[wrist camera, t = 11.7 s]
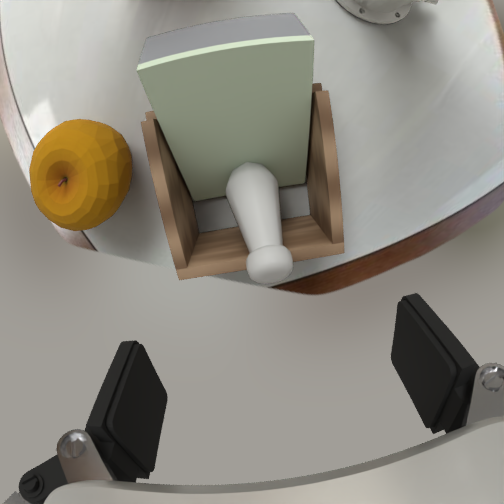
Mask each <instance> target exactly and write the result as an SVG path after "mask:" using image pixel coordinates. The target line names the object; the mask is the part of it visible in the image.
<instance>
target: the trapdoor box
mask: <svg viewBox="0 0 504 504" xmlns="http://www.w3.org/2000/svg"><path fill="white" fill-rule="evenodd" d="M145 114H146V119H147V121H143V122H141V126H142V131H143V136H144V141H145V146H146V151H147V156H148V160H149V165H150V169H151V174H152V178H153V183H154V187H155V191H156V196H157V200H158V204H159V208H160V212H161V216H162V220H163V224H164V228H165V231H166V235H167V239H168V243H169V246H170V250H171V254H172V257H173V261H174V264H175V268H176V271H177V275H178V278H179V280H184V279H190V278H197V277H203V276H210V275H216V274H222V273H228V272H235V271H241V270H247V267H246V259H247V257H248V255H249V250H248V248H247V245H246V243H245V241H244V238H243V236H242V233H241V231H240V229H239V226H238V227H232V228H226V229H221V230H215V231H209V232H203V233H199V230H198V225H197V221H196V216H195V212H194V207H193V203H192V198H191V194H190V191H189V189H188V187H187V185H186V182H185V180H184V178H183V176H182V174H181V171H180V169H179V167H178V165H177V163H176V160H175V158H174V156H173V154H172V151H171V149H170V147H169V145H168V142H167V140H166V138H165V136H164V133H163V131H162V129H161V127H160V124H159V122H158V120H157V117H156V115H155V113H154V111H150V112H146V113H145ZM306 180H307V188H308V197H309V206H310V215H307V216H300V217H294V218H287V219H281V225H282V239H283V246H285V247H286V248H287V249H288V250H289V251H290V252H291V255H292V259H293V262H296V261H302V260H307V259H313V258H319V257H325V256H331V255H336V254H342V253H344V235H343V218H342V203H341V191H340V179H339V169H338V159H337V150H336V142H335V134H334V126H333V119H332V112H331V105H330V98H329V92H328V91H322V86H321V83H315V84H312V98H311V113H310V127H309V140H308V153H307V164H306Z"/></svg>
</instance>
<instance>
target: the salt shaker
mask: <svg viewBox="0 0 504 504" xmlns="http://www.w3.org/2000/svg"><path fill="white" fill-rule="evenodd" d="M226 196H227V199H228V202H229V205H230V207H231V209H232V212H233V214H234V217H235V219H236V221H237V224H238V226H239V229H240V231H241V233H242V236H243V238H244V241H245V243H246V245H247V248H248V250H249V255H248V257H247V259H246V267H247V271H248V274H249V277H250V279H252V280H253V281H255V282H257V283H261V284H270V283H275V282H279V281H282V280H283V279H285V278H287V277H288V276H289V275H290V273H291V272H292V271H293V259H292V255H291V252H290V251H289V250H288V249H287V248H286V247H285V246H283V239H282V225H281V212H280V200H279V188H278V181H277V179H276V177H275V176H274V175H273V174H272V173H271V172H270V171H269V170H268V169H267V168H266V167H265V166H264V165H262V164H259V163H251V162H245V163H244V164H242V165H240V166H239V167H237V168H235V169H234V170H233V171H232V173H231V176H230V178H229V181H228V184H227V187H226Z"/></svg>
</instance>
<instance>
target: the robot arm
mask: <svg viewBox="0 0 504 504" xmlns="http://www.w3.org/2000/svg"><path fill="white" fill-rule="evenodd" d="M337 1H338V2H339V3H340V5H341V6H343V7H344V8H345V9H346V10H347V11H349V12H350V13H352V14H353V15H355V16H357V17H359V18H361V19H363V20H365V21H368V22H371V23H377V24H391V23H395V22H397V21H399V20H401V19H403V18H404V17H405V16H406V15H407V14H408V13H409V11H410V8H411V3H412V2H414V1H415V2H419V1H420V0H337ZM421 1H424V2H428V3H432V4H437V2H438V0H421ZM360 12H361V13H360ZM391 360H392V364H393V366H394V367H395V369H396V371H397V373H398V375H399V376H400V378H401V380H402V382H403V384H404V386H405V388H406V390H407V392H408V394H409V395H410V397H411V399H412V401H413V403H414V405H415V407H416V409H417V411H418V413H419V415H420V417H421V419H422V421H423V423H424V425H425V427H426V428H430V429H431V431H432V433H433V434H435V433H437V432H439V431H441V430H445V432H446V434H445V435H443V436H440V437H438V438H435V439H433V440H430V441H427V442H425V443H422V444H420V445H417V446H414V447H411V448H408V449H406V450H403V451H400V452H397V453H394V454H391V455H388V456H385V457H382V458H379V459H375V460H372V461H368V462H365V463H361V464H357V465H353V466H349V467H345V468H341V469H337V470H332V471H328V472H323V473H318V474H313V475H307V476H302V477H295V478H289V479H282V480H274V481H266V482H256V483H245V484H229V485H164V484H163V485H162V484H146V483H136V478H144V479H149V475H150V472H153V470H154V468H155V462H156V456H157V450H158V445H159V439H160V434H161V429H162V424H163V419H164V414H165V409H166V404H167V393H166V390H165V388H164V387H163V385H162V383H161V381H160V379H159V377H158V375H157V373H156V371H155V369H154V367H153V365H152V363H151V361H150V359H149V356H148V354H147V352H146V350H145V348H144V346H143V345H142V344H139V343H138V342H137V341H123V342H121V344H120V346H119V348H118V350H117V352H116V355H115V357H114V359H113V362H112V364H111V366H110V368H109V370H108V373H107V375H106V378H105V380H104V382H103V384H102V387H101V389H100V392H99V394H98V396H97V399H96V401H95V404H94V406H93V409H92V411H91V414H90V416H89V419H88V422H87V424H86V428H85V431H84V430H80V429H75V430H71V431H68V432H67V433H65V434H64V435H63V436H62V437H61V438H60V439H59V441H58V443H57V455H56V456H54V457H52V458H51V459H49V460H47V461H46V462H44V463H42V464H40V465H39V466H37V467H35V468H33V469H31V470H30V471H28V472H26V473H25V474H24V475H23V477H22V478H21V480H20V482H19V491H20V492H19V493H17V492H16V491H15V492H14V493H13V494H12V495H11V496H10V497H9V498H8V499H7V500H6V501H5V502H4V503H3V504H504V366H502V365H500V364H497V363H487V364H484V365H482V366H481V367H479V366H478V364H477V363H476V362H475V361H474V359H473V358H472V357H471V355H470V354H469V353H468V352H467V350H466V349H465V348H464V347H463V345H462V344H461V343H460V342H459V340H458V339H457V338H456V337H455V336H454V334H453V333H452V332H451V331H450V330H449V328H448V327H447V326H446V325H445V324H444V323H443V322H442V321H441V319H440V318H439V317H438V316H437V315H436V313H435V312H434V311H433V310H432V309H431V308H430V307H429V305H428V304H427V303H426V302H425V301H424V300H423V299H422V298H421V296H420V295H419V294H417V293H415V294H411V295H407V296H403V297H402V299H401V301H400V302H398V305H397V315H396V323H395V331H394V338H393V345H392V352H391Z"/></svg>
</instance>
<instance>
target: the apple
mask: <svg viewBox="0 0 504 504" xmlns="http://www.w3.org/2000/svg"><path fill="white" fill-rule="evenodd" d="M29 171H30V183H31V192H32V195H33V198H34V201H35V203H36V205H37V207H38V208H39V210H40V211H41V212H42V213H43V214H44V215H45V216H46V217H47V218H48V219H49V220H50V221H52V222H53V223H55V224H56V225H58V226H59V227H61V228H65V229H69V230H73V231H79V230H87V229H90V228H93V227H96V226H98V225H99V224H101V223H102V222H104V221H106V220H107V219H109V218H110V217H112V216H113V214H114V213H115V212H116V211H117V210H118V208H119V207H120V205H121V203H122V202H123V200H124V198H125V196H126V194H127V193H128V191H129V187H130V182H131V177H132V157H131V152H130V149H129V146H128V145H127V143H126V141H125V140H124V138H123V136H122V135H121V134H120V133H118V132H117V131H116V130H114V129H113V128H112V127H110V126H108V125H106V124H103V123H100V122H96V121H91V120H84V119H76V120H70V121H65V122H63V123H61V124H60V125H58V126H56V127H55V128H53V129H52V130H51V131H49V132H48V133H47V134H46V135H45V136H44V137H43V138H42V139H41V141H40V142H39V143H38V145H37V146H36V148H35V150H34V152H33V156H32V160H31V164H30V169H29Z"/></svg>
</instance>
